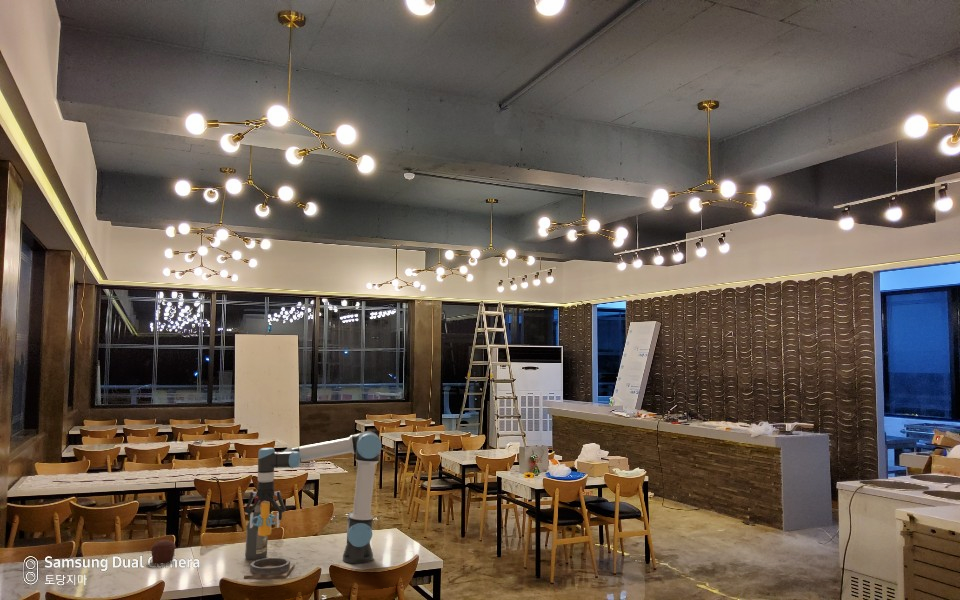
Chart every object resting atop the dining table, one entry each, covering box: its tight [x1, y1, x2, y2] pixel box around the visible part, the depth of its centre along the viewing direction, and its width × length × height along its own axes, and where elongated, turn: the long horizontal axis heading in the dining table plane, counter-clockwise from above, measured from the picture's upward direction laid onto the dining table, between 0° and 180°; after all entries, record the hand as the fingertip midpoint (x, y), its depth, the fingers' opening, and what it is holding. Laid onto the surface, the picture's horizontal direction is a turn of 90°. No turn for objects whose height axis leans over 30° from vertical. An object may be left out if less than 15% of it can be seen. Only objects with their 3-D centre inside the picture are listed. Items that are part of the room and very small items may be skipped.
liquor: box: [244, 496, 269, 561], centre depth 345 cm, size 9×9×30 cm
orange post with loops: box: [252, 501, 277, 536], centre depth 323 cm, size 12×10×15 cm
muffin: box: [150, 539, 177, 565], centre depth 336 cm, size 12×11×10 cm
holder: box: [243, 557, 296, 579], centre depth 320 cm, size 19×19×4 cm
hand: (264, 527), depth 322 cm, fingers closed on orange post with loops, 12 cm apart
